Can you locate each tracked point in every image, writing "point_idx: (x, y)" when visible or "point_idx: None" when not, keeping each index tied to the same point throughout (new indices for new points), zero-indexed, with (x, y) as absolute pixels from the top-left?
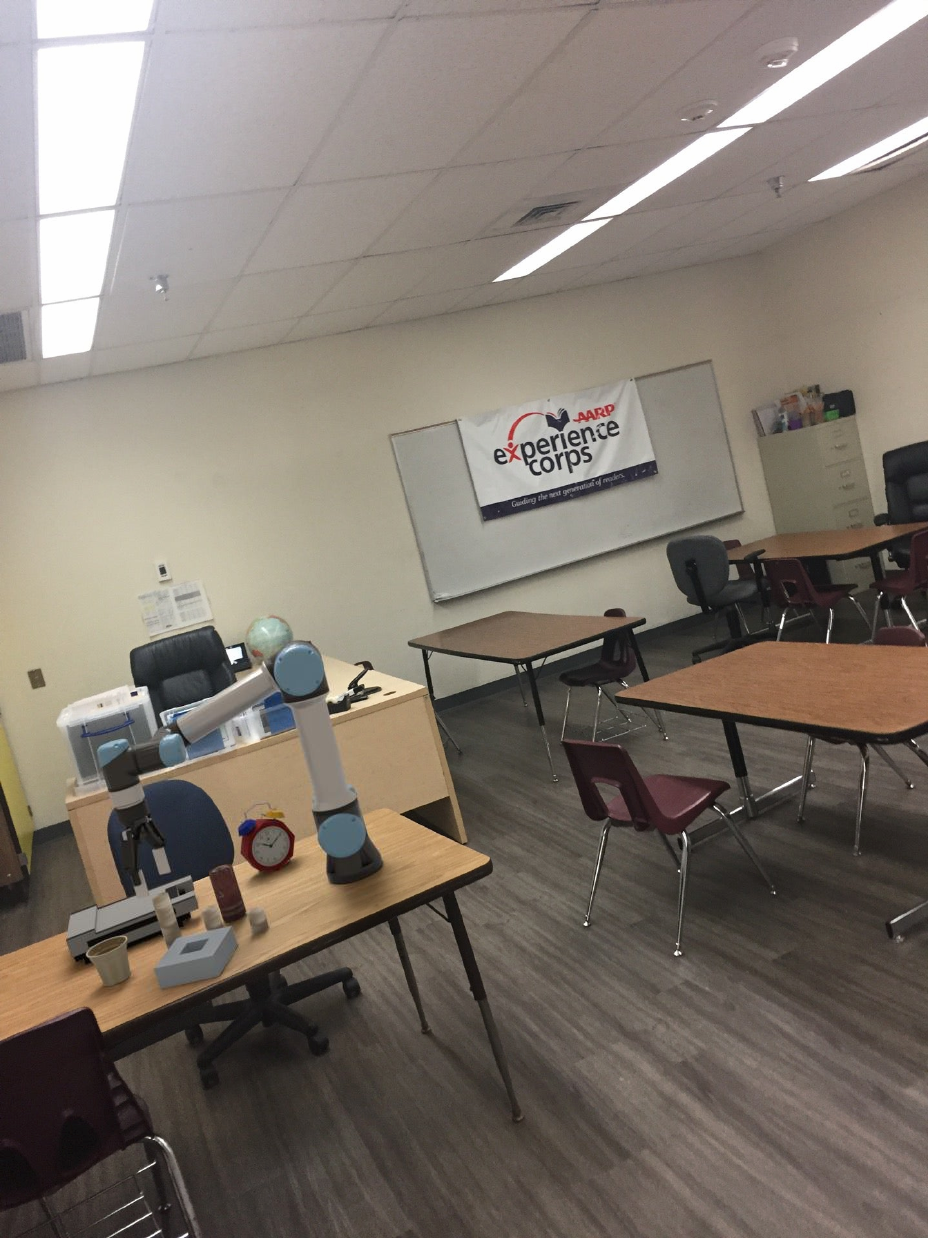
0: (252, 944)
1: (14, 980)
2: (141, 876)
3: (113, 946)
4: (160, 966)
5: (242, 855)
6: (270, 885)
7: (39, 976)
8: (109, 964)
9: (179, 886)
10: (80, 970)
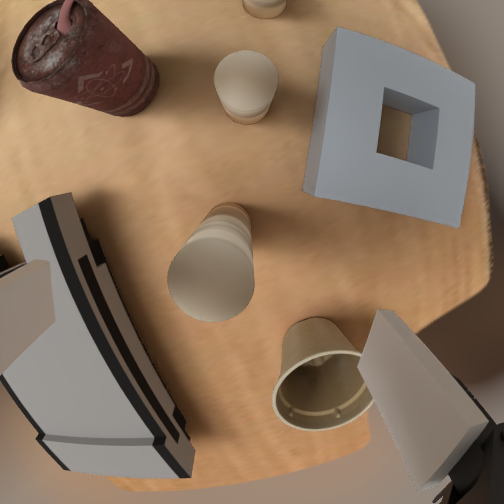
0: (339, 18)
1: (182, 487)
2: (460, 394)
3: (280, 385)
4: (459, 212)
5: None
6: None
7: None
8: None
9: None
10: (205, 424)
